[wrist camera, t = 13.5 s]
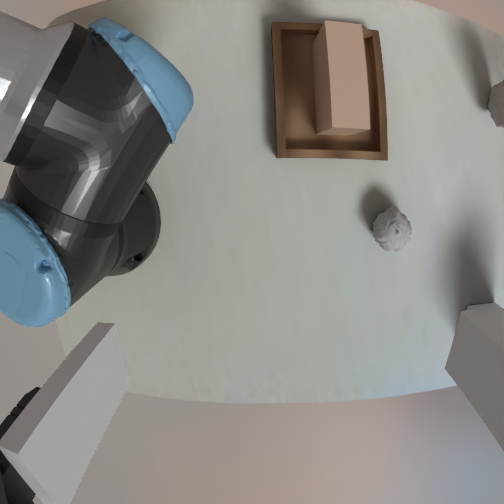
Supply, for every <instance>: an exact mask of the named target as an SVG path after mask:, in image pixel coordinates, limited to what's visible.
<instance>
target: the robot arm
mask: <svg viewBox="0 0 504 504" xmlns="http://www.w3.org/2000/svg"><path fill="white" fill-rule="evenodd" d="M88 28H89V29H88V30H87V29H85V28H83V27H81V26H80V25H78V24H76V23H74V22H72V21H69V22H66V23H63V24H60V25H57V26H54V27H51V28H46V29H39V28H37V27H35V26H33V25H30V24H28V23H26V22H24V21H22V20H19V19H17V18H15V17H13V16H10V15H8V14H5V13H3V12H1V11H0V161H2V162H6V163H9V164H12V165H15V168H14V170H13V173H12V176H11V179H10V181H9V184H8V187H7V190H6V192H5V195H4V197H3V198H2V199H0V311H1V312H2V313H3V314H4V315H5V316H7V317H8V318H9V319H11V320H13V321H14V322H16V323H18V324H20V325H23V326H27V327H30V326H33V327H42V326H45V325H47V324H48V323H50V322H51V321H53V320H55V319H56V318H57V317H60V316H62V315H64V314H65V313H66V311H67V310H68V309H69V307H71V306H72V305H73V304H74V303H75V302H76V301H77V300H79V299H80V298H81V297H82V296H83V295H84V294H85V293H87V292H88V291H89V290H90V289H91V288H92V287H94V286H95V285H96V284H97V283H98V282H99V281H101V280H102V279H103V278H104V277H106V276H116V275H122V274H125V273H128V272H130V271H132V270H134V269H135V268H137V267H138V266H139V265H140V264H141V263H143V262H144V261H145V260H146V259H147V258H148V257H149V255H150V254H151V253H152V251H153V250H154V248H155V246H156V243H157V241H158V238H159V234H160V226H161V218H160V210H159V206H158V203H157V200H156V197H155V195H154V193H153V191H152V190H151V188H150V187H149V185H148V184H147V183H146V180H147V179H148V177H149V175H150V174H151V172H152V170H153V169H154V167H155V166H156V164H157V162H158V161H159V159H160V158H161V156H162V155H163V153H164V151H165V150H166V148H167V147H168V145H169V144H173V142H174V141H175V139H176V133H177V132H178V130H179V128H180V127H181V125H182V124H183V122H184V120H185V119H186V117H187V116H188V114H189V113H190V111H191V109H192V106H193V92H192V90H191V87H190V85H189V83H188V82H187V80H186V79H185V78H184V76H183V75H182V74H181V73H180V72H179V71H178V70H177V69H176V68H175V66H174V65H173V64H171V63H170V62H169V61H168V60H167V59H166V58H165V57H164V56H163V55H162V54H161V53H160V52H158V51H157V50H156V49H155V48H154V47H152V46H151V45H150V44H149V43H147V42H146V41H145V40H143V39H142V38H140V37H139V36H135V35H133V33H132V32H130V31H129V30H127V29H126V28H125V27H124V26H122V25H121V24H119V23H117V22H115V21H112V20H110V19H106V18H102V19H98V20H97V21H96V22H94V23H91V24H90V26H89V27H88ZM445 369H446V371H447V372H448V373H449V375H450V376H451V377H452V378H453V380H454V381H455V382H456V384H457V385H458V387H459V388H460V389H461V390H462V392H463V393H464V394H465V396H466V397H467V399H468V400H469V402H470V403H471V404H472V406H473V407H474V408H475V410H476V411H477V413H478V414H479V416H480V417H481V418H482V420H483V421H484V423H485V424H486V426H487V427H488V428H489V430H490V431H491V433H492V434H493V436H494V437H495V439H496V440H497V442H498V443H499V445H500V446H501V448H502V449H503V451H504V334H503V333H502V332H501V331H500V330H499V329H497V328H496V327H495V326H494V325H493V324H492V323H490V322H489V321H488V320H487V319H486V318H484V317H483V316H482V315H481V314H480V313H478V312H477V311H476V310H475V309H473V310H466V311H461V312H460V316H459V320H458V324H457V328H456V332H455V336H454V339H453V343H452V347H451V350H450V353H449V357H448V360H447V363H446V366H445ZM129 384H130V379H129V376H128V372H127V369H126V365H125V362H124V358H123V354H122V350H121V346H120V342H119V338H118V334H117V330H116V326H115V324H113V323H97V324H96V325H95V326H94V327H93V328H92V329H91V330H90V332H89V333H88V334H87V335H86V336H85V337H84V338H83V339H82V341H81V342H80V343H79V344H78V345H77V346H76V347H75V348H74V350H73V351H72V352H71V353H70V354H69V355H68V357H67V358H66V359H65V360H64V361H63V362H62V364H61V365H60V366H59V367H58V368H57V369H56V371H55V372H54V373H53V374H52V376H51V377H50V378H49V379H48V380H47V382H46V383H45V384H44V385H43V386H42V387H41V388H39V387H36V388H35V389H33V390H31V391H30V392H29V393H27V394H25V395H24V397H23V398H22V399H21V400H20V401H19V403H18V404H17V407H14V409H13V410H12V411H11V412H10V415H8V416H7V417H6V418H5V420H4V421H3V422H2V424H1V425H0V504H34V502H33V501H32V500H33V498H34V496H35V495H37V496H38V498H39V499H40V500H41V501H42V502H43V503H44V504H70V503H71V500H72V498H73V496H74V494H75V492H76V490H77V487H78V485H79V483H80V481H81V479H82V477H83V475H84V473H85V471H86V469H87V467H88V465H89V462H90V460H91V458H92V456H93V454H94V452H95V450H96V448H97V446H98V444H99V442H100V440H101V438H102V436H103V434H104V432H105V430H106V428H107V426H108V424H109V422H110V420H111V418H112V417H113V414H114V413H115V411H116V409H117V407H118V405H119V403H120V401H121V399H122V397H123V395H124V393H125V392H126V390H127V388H128V386H129Z"/></svg>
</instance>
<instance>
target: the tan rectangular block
mask: <svg viewBox="0 0 504 504" xmlns="http://www.w3.org/2000/svg"><path fill="white" fill-rule="evenodd" d="M312 58H313V73H314V91H315V112H316V135H345V136H347V135H351V134H355V133H359V132H363V131H366V130H370V110H369V93H368V80H367V68H366V58H365V48H364V40H363V32H362V24H355V23H347V22H338V21H327V20H325V21H324V23H323V25H322V27H321V29H320V31H319V33H318V35H317V37H316V39H315V41H314V43H313V46H312Z"/></svg>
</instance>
